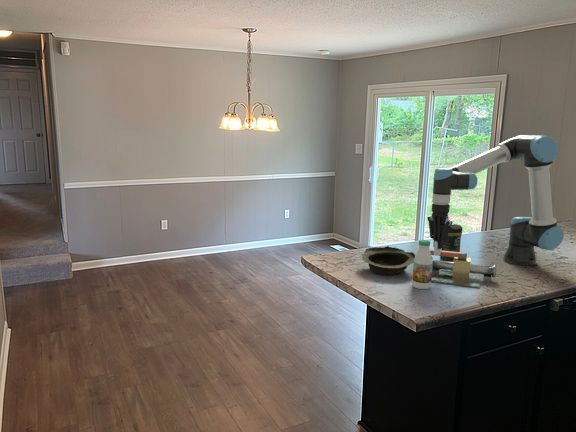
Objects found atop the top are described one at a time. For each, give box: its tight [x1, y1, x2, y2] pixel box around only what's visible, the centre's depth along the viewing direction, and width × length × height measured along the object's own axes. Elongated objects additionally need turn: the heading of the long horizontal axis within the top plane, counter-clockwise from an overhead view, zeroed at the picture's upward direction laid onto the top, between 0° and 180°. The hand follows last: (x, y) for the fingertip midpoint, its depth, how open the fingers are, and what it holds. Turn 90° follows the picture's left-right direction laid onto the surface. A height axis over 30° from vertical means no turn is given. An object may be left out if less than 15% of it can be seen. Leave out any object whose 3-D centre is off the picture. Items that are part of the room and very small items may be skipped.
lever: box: [429, 248, 468, 260], centre depth 211 cm, size 16×4×2 cm, turn 71°
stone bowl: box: [361, 245, 416, 276], centre depth 218 cm, size 25×25×9 cm
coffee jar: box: [439, 223, 463, 262], centre depth 236 cm, size 10×8×19 cm
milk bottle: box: [411, 239, 434, 290], centre depth 196 cm, size 8×8×20 cm
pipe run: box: [431, 257, 497, 289], centre depth 209 cm, size 32×22×8 cm
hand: (437, 255), depth 210 cm, fingers closed
